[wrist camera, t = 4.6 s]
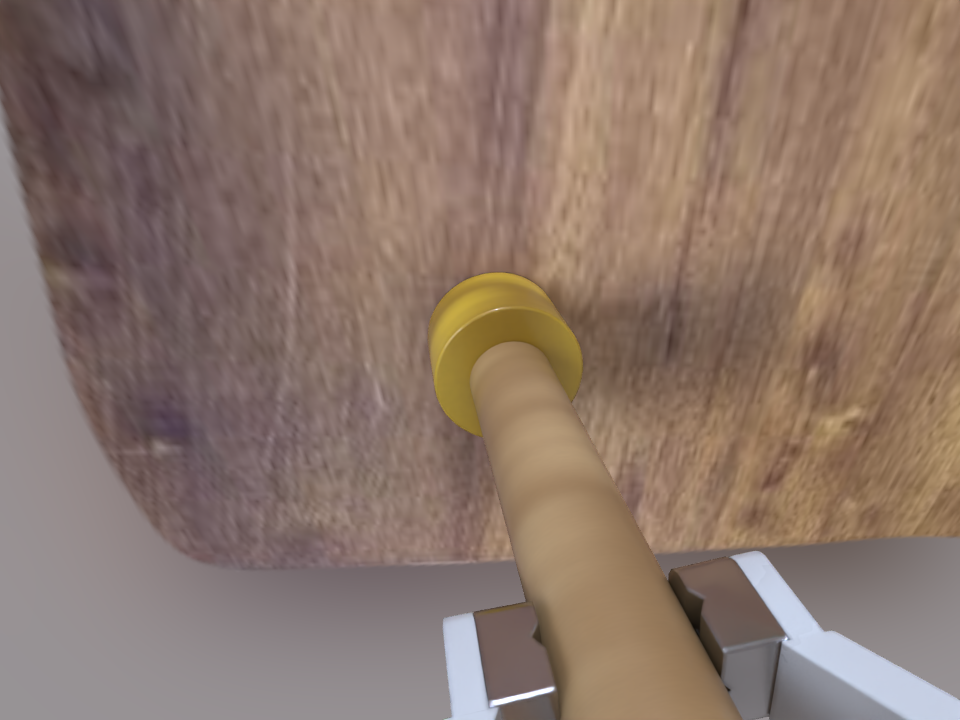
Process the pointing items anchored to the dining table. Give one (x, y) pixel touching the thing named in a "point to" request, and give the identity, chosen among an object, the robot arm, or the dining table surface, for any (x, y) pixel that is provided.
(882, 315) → the dining table surface
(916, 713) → the robot arm
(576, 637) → the beige handle with collar
